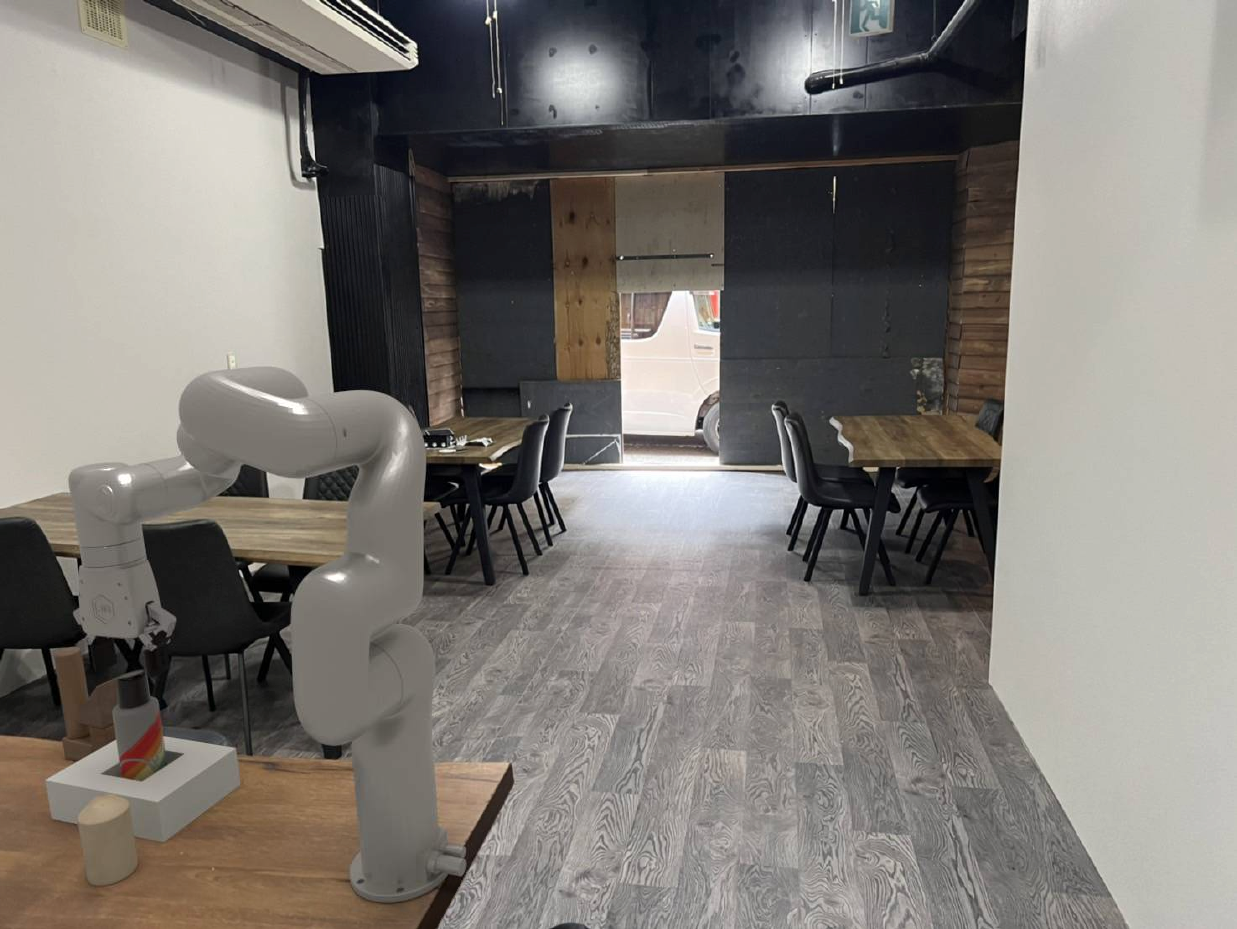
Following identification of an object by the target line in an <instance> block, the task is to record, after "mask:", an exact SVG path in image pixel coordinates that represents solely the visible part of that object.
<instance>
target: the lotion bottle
mask: <svg viewBox="0 0 1237 929" xmlns="http://www.w3.org/2000/svg"><path fill="white" fill-rule="evenodd" d="M114 679H115V681H116V689H117V696H118V703H119V704H118V705H116V706H115V707H114V709H113V711H112V714H113V722H114V729H115V735H116V742H117V748H118V755H119V762H120V768H121V775H122V778H125V779H130V780H136V781H141V782H142V781H144V780H145V779H147V778H148V777H150V776H151V775H153V774H154V773H156V772H158V771H159V770H161V769H162V768H164V767H165V766H167V759H166V752H165V745H164V738H163V736H164V733H163V732H164V731H163V726H162V718H161V716H162V715H161V711H160V709H161V708H160V704H159V700H158V698H156V697H155V696H151V694H150V692H151V691H150V684H149V680H148V673H147V669H141V668H139V669H136V670H132V671H129V672H126V673H124V674H121V675H118V676H116V677H115V678H114Z"/></svg>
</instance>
